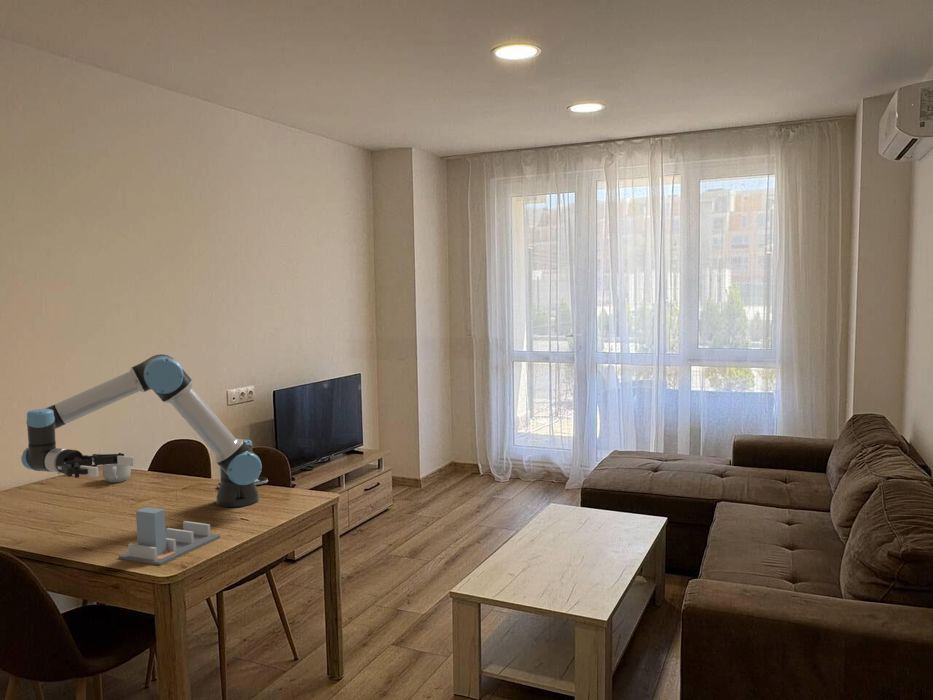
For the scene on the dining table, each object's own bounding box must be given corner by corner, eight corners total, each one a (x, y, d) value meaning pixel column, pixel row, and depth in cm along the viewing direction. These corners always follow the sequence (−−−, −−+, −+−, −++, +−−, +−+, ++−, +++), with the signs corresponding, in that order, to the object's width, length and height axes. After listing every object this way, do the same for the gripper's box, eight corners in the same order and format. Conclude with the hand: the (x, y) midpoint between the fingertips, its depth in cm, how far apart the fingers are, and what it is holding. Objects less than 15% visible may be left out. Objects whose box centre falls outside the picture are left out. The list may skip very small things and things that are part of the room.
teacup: (108, 478, 310) (107, 459, 309) (135, 477, 311) (134, 458, 310) (96, 486, 296) (95, 467, 295) (124, 485, 297) (123, 466, 296)
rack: (180, 531, 239) (180, 519, 239) (220, 537, 233) (219, 524, 233) (118, 558, 216) (118, 544, 216) (160, 565, 210) (159, 550, 210)
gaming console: (221, 492, 287) (220, 486, 287) (216, 487, 295) (216, 481, 294) (270, 485, 297) (270, 479, 297) (264, 480, 305) (264, 474, 304)
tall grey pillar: (148, 549, 221) (146, 507, 220) (166, 552, 218) (164, 509, 217) (138, 553, 217) (136, 511, 216) (156, 556, 215) (154, 513, 214)
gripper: (99, 464, 240) (148, 469, 232) (29, 483, 217) (81, 489, 209) (98, 441, 240) (147, 446, 232) (27, 458, 216) (80, 463, 209)
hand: (116, 466), depth 220 cm, fingers open, 13 cm apart
